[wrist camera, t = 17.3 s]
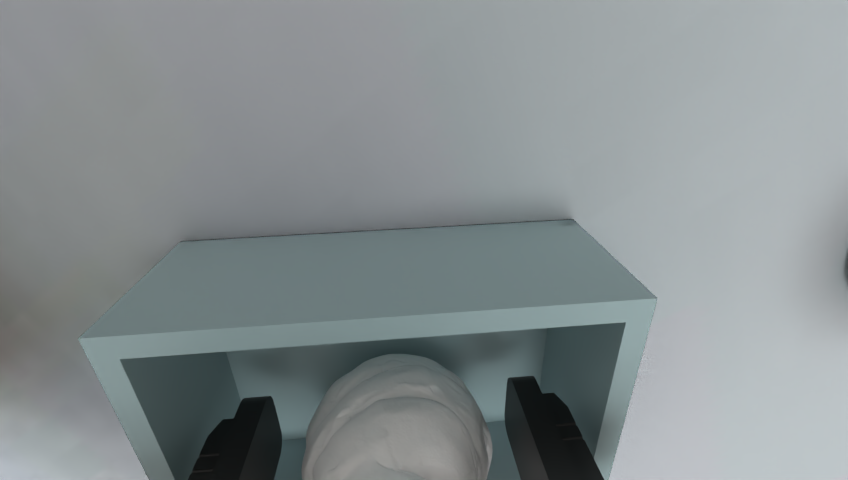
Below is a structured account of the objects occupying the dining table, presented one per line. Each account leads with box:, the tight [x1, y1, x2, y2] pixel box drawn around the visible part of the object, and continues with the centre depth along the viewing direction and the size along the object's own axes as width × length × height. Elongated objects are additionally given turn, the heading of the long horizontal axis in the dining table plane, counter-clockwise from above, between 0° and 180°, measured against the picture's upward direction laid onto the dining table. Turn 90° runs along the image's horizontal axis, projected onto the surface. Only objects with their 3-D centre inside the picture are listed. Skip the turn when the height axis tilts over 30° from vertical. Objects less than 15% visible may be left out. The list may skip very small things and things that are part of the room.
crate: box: [78, 220, 657, 480], centre depth 14 cm, size 17×12×4 cm
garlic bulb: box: [301, 354, 493, 480], centre depth 11 cm, size 6×6×5 cm
